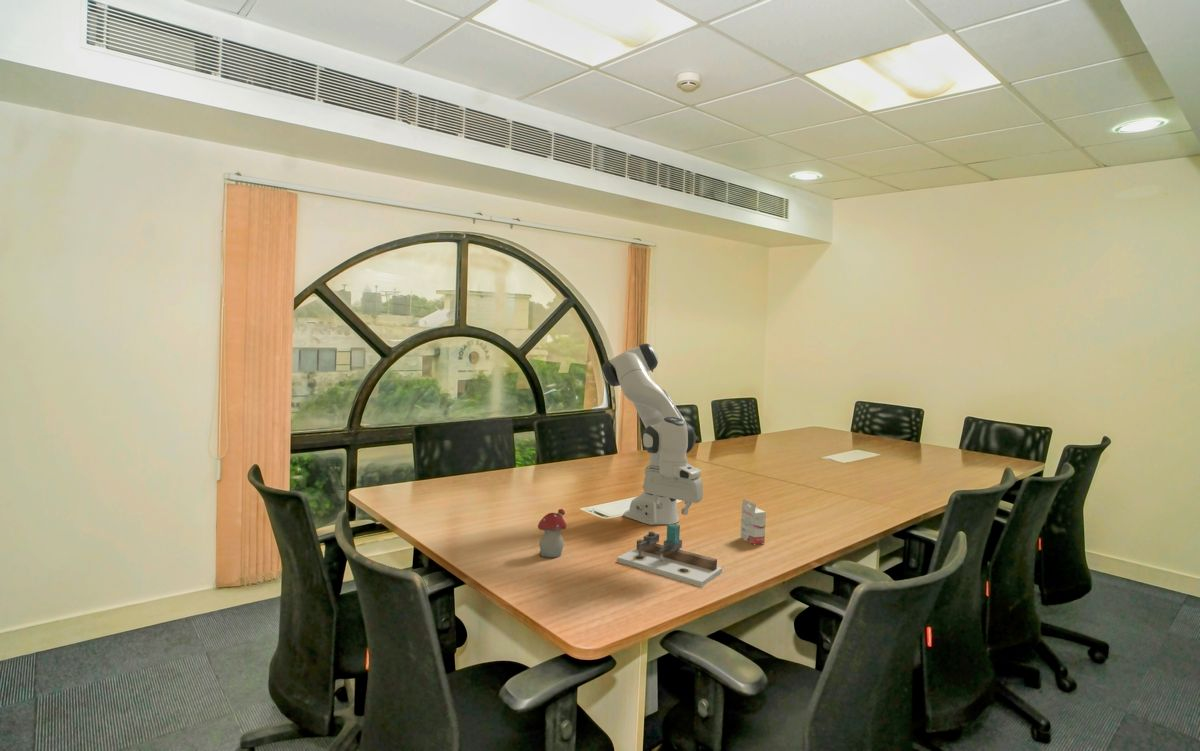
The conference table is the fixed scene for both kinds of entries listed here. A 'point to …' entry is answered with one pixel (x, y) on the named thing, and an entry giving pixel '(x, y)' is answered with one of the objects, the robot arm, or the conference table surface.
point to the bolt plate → (669, 567)
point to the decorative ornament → (552, 534)
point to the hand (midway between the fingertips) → (671, 511)
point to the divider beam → (674, 553)
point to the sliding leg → (671, 540)
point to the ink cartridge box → (752, 523)
